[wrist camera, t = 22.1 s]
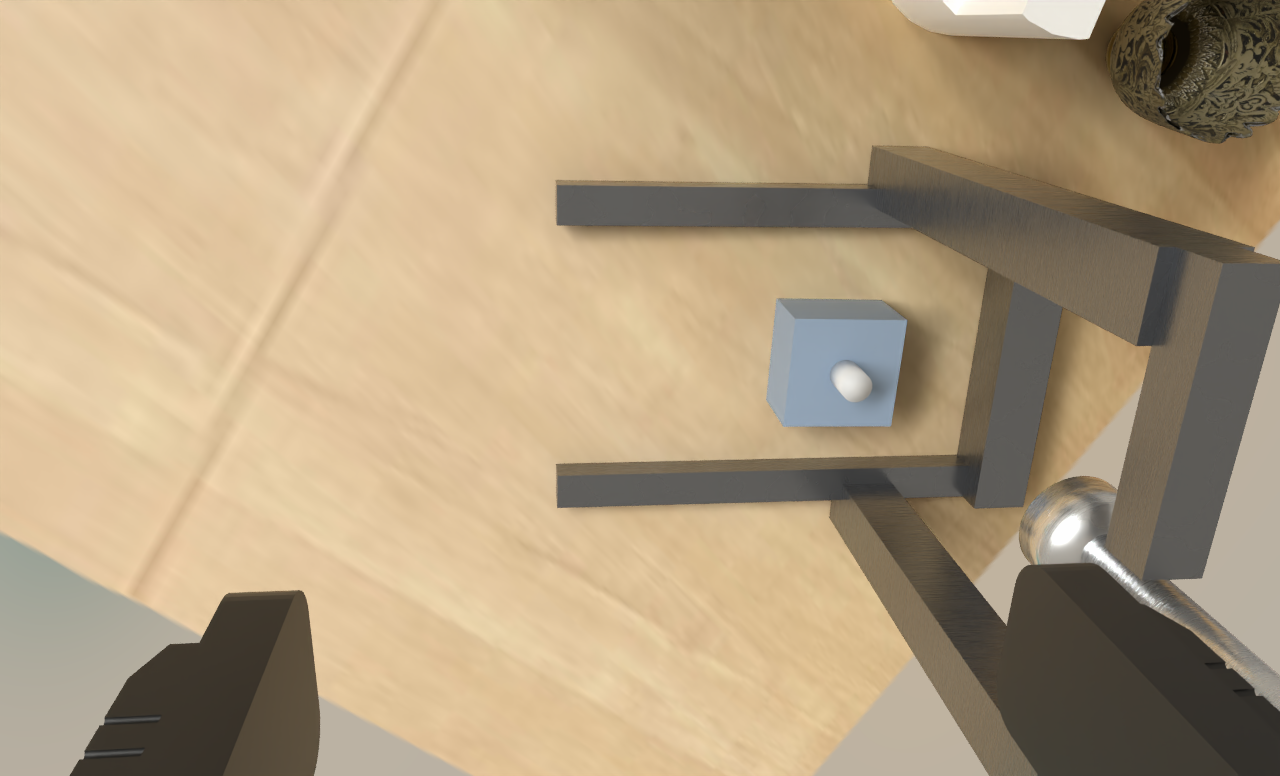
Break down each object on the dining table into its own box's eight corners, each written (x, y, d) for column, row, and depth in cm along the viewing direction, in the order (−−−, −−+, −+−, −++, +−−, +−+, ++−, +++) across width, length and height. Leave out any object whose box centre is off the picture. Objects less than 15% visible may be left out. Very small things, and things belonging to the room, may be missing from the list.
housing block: (775, 297, 52) (806, 330, 46) (880, 299, 53) (922, 332, 47) (765, 398, 54) (793, 441, 49) (866, 399, 55) (904, 441, 49)
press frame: (555, 140, 47) (590, 262, 23) (1060, 149, 51) (1550, 264, 26) (556, 525, 55) (582, 914, 31) (993, 512, 58) (1323, 856, 34)
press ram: (1029, 477, 33) (1483, 884, 18) (1135, 474, 34) (1668, 868, 18) (1010, 574, 35) (1413, 1032, 19) (1111, 571, 35) (1587, 1014, 19)
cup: (1226, 50, 50) (1350, 55, 42) (1116, 154, 51) (1217, 177, 44) (1151, -60, 47) (1268, -75, 40) (1037, 52, 49) (1130, 58, 41)
